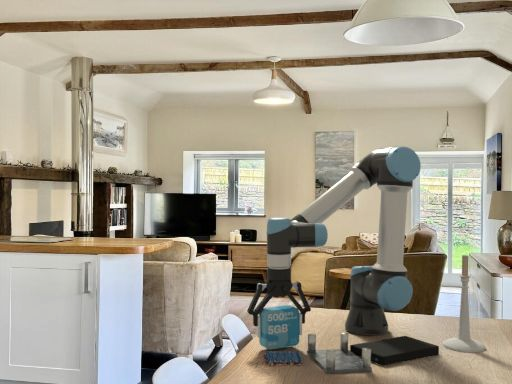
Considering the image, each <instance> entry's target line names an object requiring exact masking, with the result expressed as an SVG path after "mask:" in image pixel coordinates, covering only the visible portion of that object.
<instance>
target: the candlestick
mask: <svg viewBox="0 0 512 384" xmlns="http://www.w3.org/2000/svg"><path fill="white" fill-rule="evenodd" d="M469 258H470V257H469V255H467V254H462V255H461V275H459V277H460V282H461V284H462V286H461V287H460V288H461V294H460V306H459V308H460V309H459V321H458V330H457V331H458V334H457V336H455V337H451V338H447V339H445V340H444V341H443V344H442V346H443V347H444V348H445V349H448V350H450V351H454V352H460V353H472V354H473V353H481V352H485V350H486V346H485V345H484V344H483V343H482V342H481V341H479V340H477V339H473V338H471V331H470V328H471V327H470V326H471V325H470V303H469V301H470V300H469V287H468V284H469V282H470V278H471V275H469V262H470V261H469Z"/></svg>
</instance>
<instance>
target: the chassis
mask: <svg viewBox="0 0 512 384" xmlns="http://www.w3.org/2000/svg"><path fill="white" fill-rule="evenodd" d="M339 334H340V343H339V345H340V346H339V348H334V349H332V348H331V349H317V347H316V346H317V344H316V343H317V334H316V333H308V334H307V350H306V354H307V356H308V357H309V358H310V359H311V360H312V361H314V363H315V364H316V365H317V366H318V367H319V368H321V369H322V371H323V372H324V373H325V374H328V375H329V374H331V375H332V374H347V373H348V374H349V373H366V372H367V373H368V372H372V371H373V368H372V362H371V349H370V348H362V358H361V357H358V356H356V355H355V354H353V353H352V352H351V351H350V349H349V332H340V333H339Z"/></svg>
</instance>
